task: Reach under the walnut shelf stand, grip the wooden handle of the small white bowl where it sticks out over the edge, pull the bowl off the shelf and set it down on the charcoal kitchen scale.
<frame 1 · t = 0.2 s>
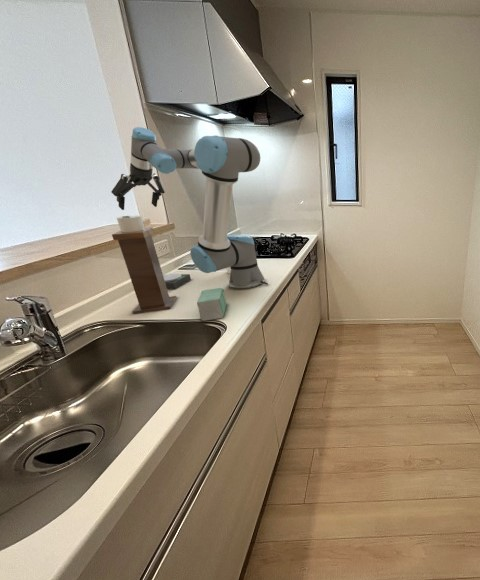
hand: (138, 206, 144), 35 cm above the worktop, tool tilted 35°, fingers open, 13 cm apart
kitchen scale: (169, 284, 148), on the worktop
shelf stand: (156, 305, 125), on the worktop
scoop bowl: (133, 230, 114), point 30 cm above the worktop, touching shelf stand
mug: (239, 271, 166), on the worktop
box: (214, 312, 118), on the worktop
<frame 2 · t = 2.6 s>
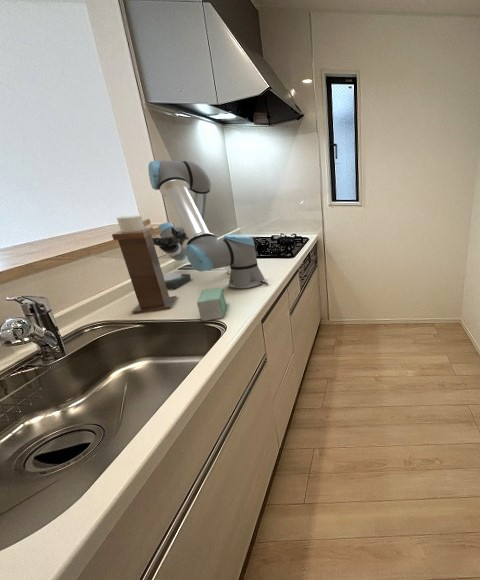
hand: (154, 231, 135), 26 cm above the worktop, tool pointing upward, fingers open, 13 cm apart
nothing on the worktop moved.
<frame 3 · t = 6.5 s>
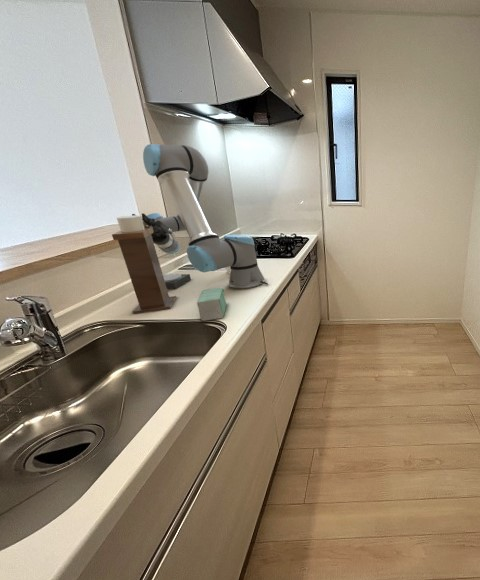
hand: (138, 217, 121), 34 cm above the worktop, tool pointing upward, fingers closed on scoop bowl, 2 cm apart
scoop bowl: (133, 230, 114), point 30 cm above the worktop, touching gripper, shelf stand
everything else where it was.
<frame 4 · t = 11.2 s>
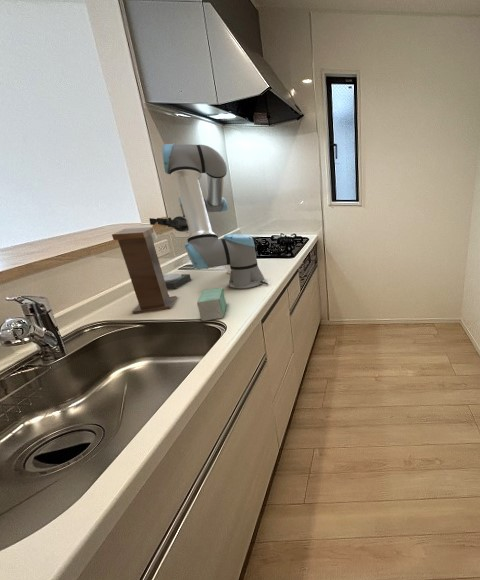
hand: (154, 221, 136), 30 cm above the worktop, tool horizontal, fingers closed on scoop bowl, 2 cm apart
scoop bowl: (148, 239, 131), point 24 cm above the worktop, tilted 18°, touching gripper
everything else where it was.
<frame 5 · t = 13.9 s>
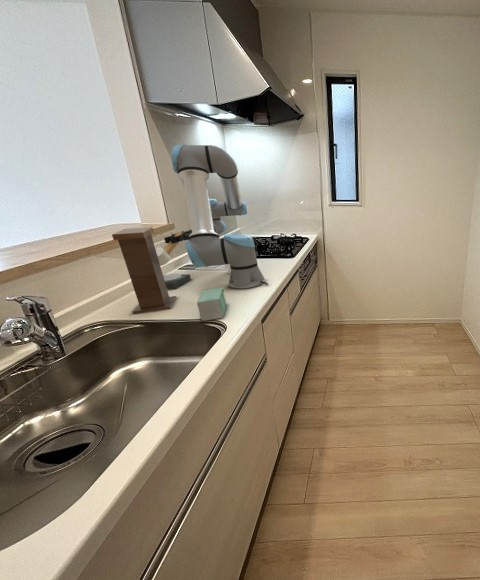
hand: (168, 240, 146), 20 cm above the worktop, tool horizontal, fingers closed on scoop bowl, 2 cm apart
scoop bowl: (162, 260, 143), point 12 cm above the worktop, tilted 30°, touching gripper
everything else where it was.
when the fingers open (13 cm above the worktop, at t = 15.8 s): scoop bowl drops 2 cm, resting on kitchen scale.
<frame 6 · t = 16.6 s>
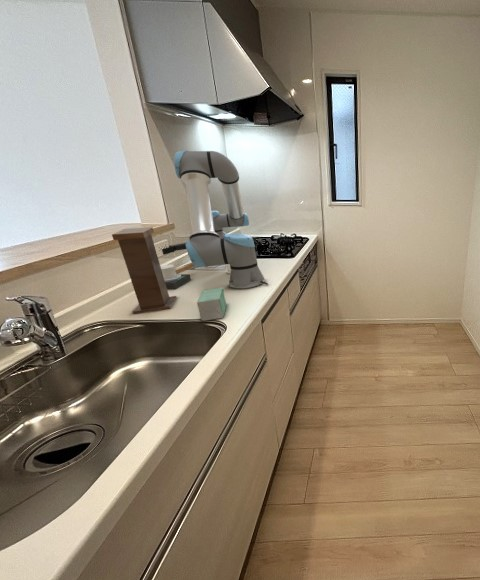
hand: (175, 252, 150), 14 cm above the worktop, tool horizontal, fingers open, 13 cm apart
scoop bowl: (168, 276, 147), point 4 cm above the worktop, touching kitchen scale
everything else where it was.
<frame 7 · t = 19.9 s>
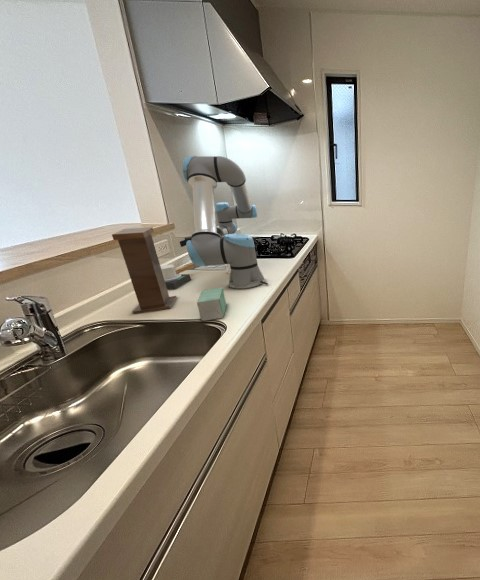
hand: (193, 244, 160), 15 cm above the worktop, tool horizontal, fingers open, 13 cm apart
nothing on the worktop moved.
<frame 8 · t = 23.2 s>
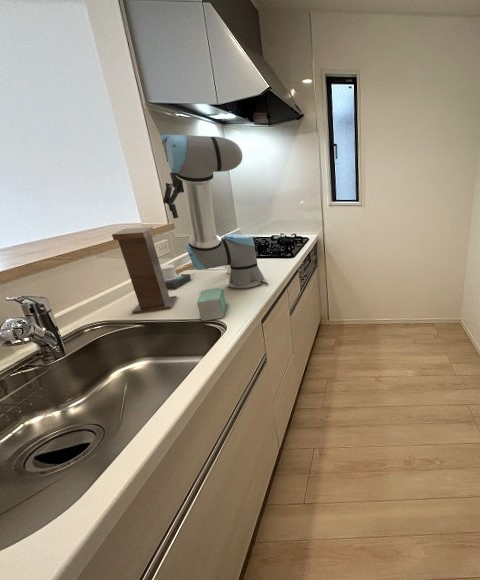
hand: (190, 217, 153), 29 cm above the worktop, tool pointing down, fingers open, 13 cm apart
nothing on the worktop moved.
at the end: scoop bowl inside the target area on the kitchen scale (0.4 cm from its centre), point 3.8 cm above the kitchen scale's base; the gripper is holding nothing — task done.
